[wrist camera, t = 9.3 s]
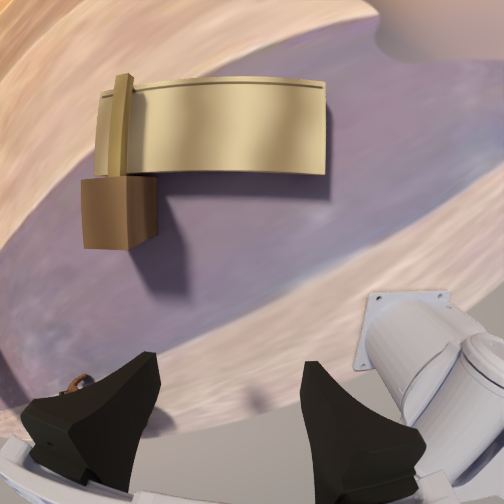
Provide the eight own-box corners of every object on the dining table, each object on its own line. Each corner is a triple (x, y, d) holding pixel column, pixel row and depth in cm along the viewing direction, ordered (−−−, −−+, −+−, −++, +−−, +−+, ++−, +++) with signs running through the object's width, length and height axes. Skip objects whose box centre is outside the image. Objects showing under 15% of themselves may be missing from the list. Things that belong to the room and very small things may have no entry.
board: (319, 90, 18) (325, 81, 16) (318, 175, 20) (325, 174, 18) (111, 98, 19) (100, 92, 17) (106, 176, 20) (93, 176, 18)
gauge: (162, 87, 18) (136, 62, 13) (157, 234, 21) (128, 250, 16) (124, 93, 18) (91, 73, 13) (119, 233, 21) (84, 248, 16)
